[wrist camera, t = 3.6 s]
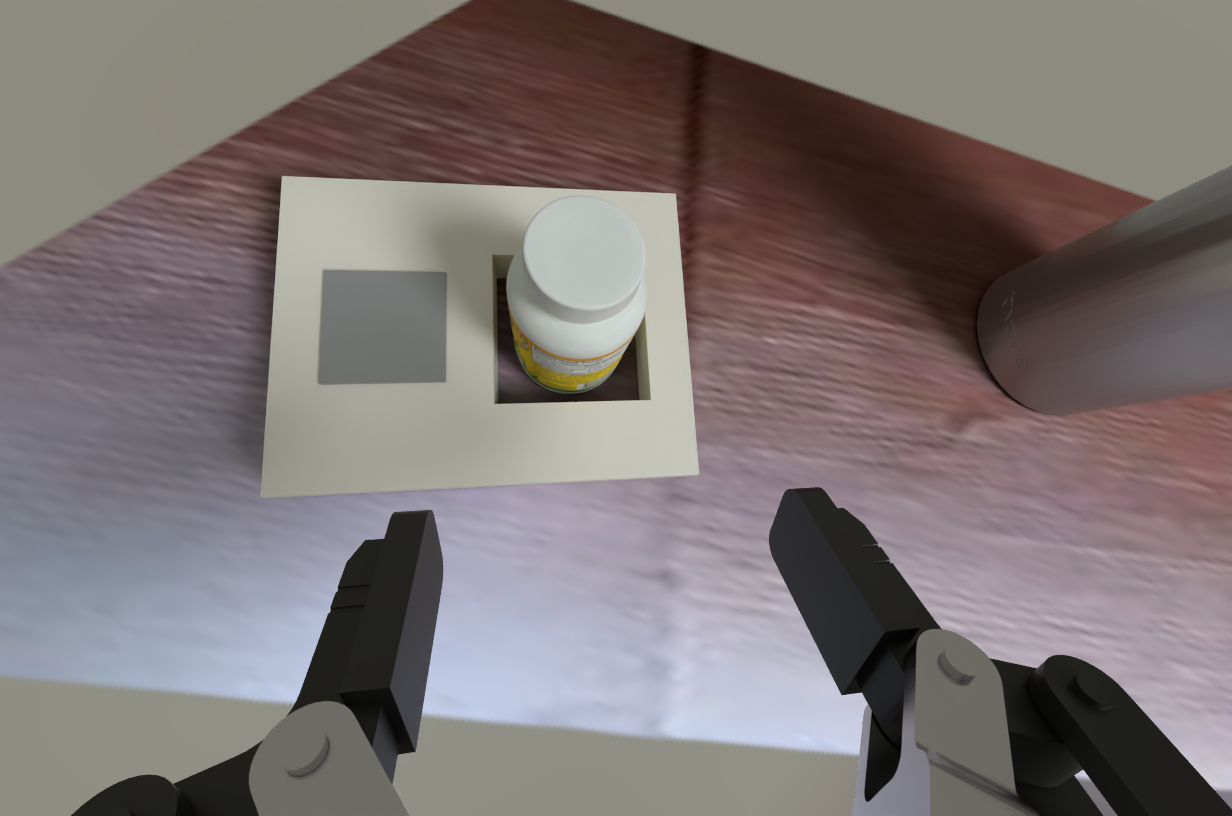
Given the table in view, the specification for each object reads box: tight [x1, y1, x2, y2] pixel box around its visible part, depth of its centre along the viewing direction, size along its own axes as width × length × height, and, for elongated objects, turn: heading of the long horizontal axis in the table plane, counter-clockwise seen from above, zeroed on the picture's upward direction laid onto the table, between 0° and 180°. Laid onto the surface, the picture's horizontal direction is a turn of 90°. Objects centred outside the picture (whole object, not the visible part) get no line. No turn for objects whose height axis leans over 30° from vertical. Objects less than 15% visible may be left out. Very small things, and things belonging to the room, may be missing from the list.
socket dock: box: [260, 176, 699, 497], centre depth 23 cm, size 18×14×3 cm
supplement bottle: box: [506, 195, 648, 394], centre depth 20 cm, size 5×5×10 cm
